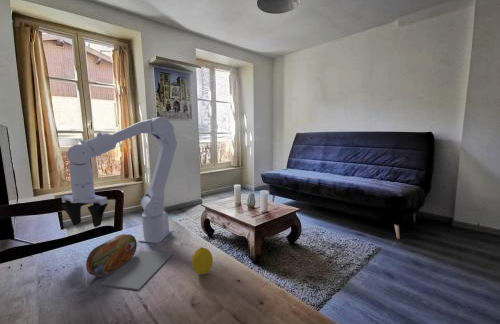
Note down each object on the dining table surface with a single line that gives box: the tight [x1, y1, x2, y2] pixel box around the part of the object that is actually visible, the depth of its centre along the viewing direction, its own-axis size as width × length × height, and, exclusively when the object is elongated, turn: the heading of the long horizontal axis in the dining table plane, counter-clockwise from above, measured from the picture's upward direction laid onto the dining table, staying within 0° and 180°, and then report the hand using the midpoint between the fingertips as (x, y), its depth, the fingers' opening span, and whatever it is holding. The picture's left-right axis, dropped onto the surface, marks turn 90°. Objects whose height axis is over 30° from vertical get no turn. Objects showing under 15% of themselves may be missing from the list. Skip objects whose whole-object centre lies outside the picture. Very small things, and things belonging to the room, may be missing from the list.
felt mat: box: [100, 250, 173, 291], centre depth 70 cm, size 17×11×1 cm, turn 170°
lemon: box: [191, 246, 214, 276], centre depth 66 cm, size 6×6×8 cm
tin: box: [85, 234, 138, 278], centre depth 70 cm, size 15×3×8 cm, turn 160°
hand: (87, 224), depth 76 cm, fingers open, 7 cm apart
